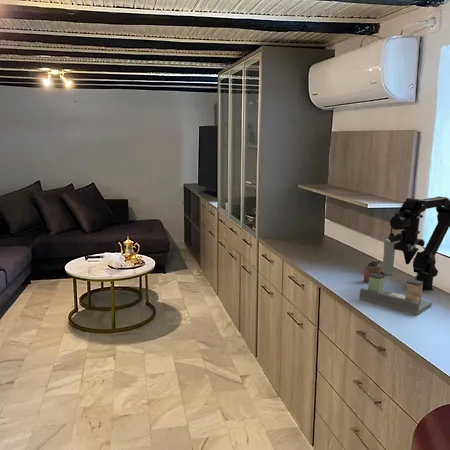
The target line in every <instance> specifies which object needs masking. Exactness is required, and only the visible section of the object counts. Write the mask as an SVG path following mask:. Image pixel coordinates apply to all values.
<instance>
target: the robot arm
mask: <svg viewBox="0 0 450 450" xmlns="http://www.w3.org/2000/svg"><path fill="white" fill-rule="evenodd" d="M433 208H435V211H436V213H437V215H436V218H437V223H436V226H435V228H434V230H433V232H432V234H431V235H430V238H429V239H428V242H427V244H425V240H424V239H421V238H418V237H419V236H418V235H419V234H420V233H421V231H420V230H419V228H420V221H421V219H422V218H424V215H423V214H422V213H424V212H425V211H426V210H427V209H433ZM420 218H421V219H420ZM389 225H390V228H391V227H392V230H395V231H398V230H400V231H401V232H400V233H396V232H392V233H391V232H390V233H389V235H388V238H387V239H389V240H390V242H391V243H393V242H396V243H395V244H394V247H393V249H395V251H401V252H402V254H403V258H404V261H405V264H406V265H410V263H411V262H412V267H413V268H412V269H413V270H412V271H413V273H416V275H415V277H414V280H417V281H422V282H423V286H422V290H428V291H429V290H430V291H434V288H433V282H434V278H436V277H437V276H438V273H439V271H438V269H437V267H436V263H437V262H436V261H437V260H436V254H437V252H438V251H439V248H440V246H441V244H442V242H443V241H444V238H445V236H446V235H447V232H448V231H449V228H450V198H448V197H446V196H440V195H439V196H436V197H427V198H422V199H419V198H414V197H413V198H412V197H408V198H406V199H405V201H404V202H403V203H402V205H401V207H400V208H399V210H398V212H395V213H394V215H393V216H392V217H391V219H390V220H389ZM417 246H420V247H421V248H422V247H424V246H425V248H424V249H423V250H422V251H419V250H420V248H417ZM412 260H413V261H412Z"/></svg>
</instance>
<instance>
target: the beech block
mask: <svg viewBox="0 0 450 450" xmlns="http://www.w3.org/2000/svg"><path fill="white" fill-rule="evenodd" d="M422 286H423V282H422V281H417V280H415V279H412V278H411V279H409V280H406V288H405V289H406V290H405V295H404V296H405V299H406V300H410V301H414V302H418V303H421V300H422V294H423V289H422Z"/></svg>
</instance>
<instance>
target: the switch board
mask: <svg viewBox="0 0 450 450" xmlns="http://www.w3.org/2000/svg"><path fill="white" fill-rule="evenodd" d="M405 296H406V295H404V294H400V293H395V292H391V291H387V290H384V289H383V293H379V292H375V291H371V290H368V288H367V289H366V288H360V290H359V298H358V299H359V301H364V302H367V303H370V304H373V305H377V306H381V307H385V308H388V309H392V310H396V311H400V312H403V313H406V314H410V315H414V316H418V315H420V314H422V313H423V312H425V311H427V310H428V309H429V308H432V305H433V302H431V301H427V300H423V299H421V303H418V302H414V301H410V300H406V299H405Z"/></svg>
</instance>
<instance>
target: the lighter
mask: <svg viewBox="0 0 450 450" xmlns="http://www.w3.org/2000/svg"><path fill="white" fill-rule="evenodd" d="M380 264H381V261H380V260H373V259H371V260H370V261H369V260H368V261H367V265H364V275H363V281H362V283H364V284H368V283H369V274H372V273H377V274H381V270H382V265H380Z"/></svg>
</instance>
